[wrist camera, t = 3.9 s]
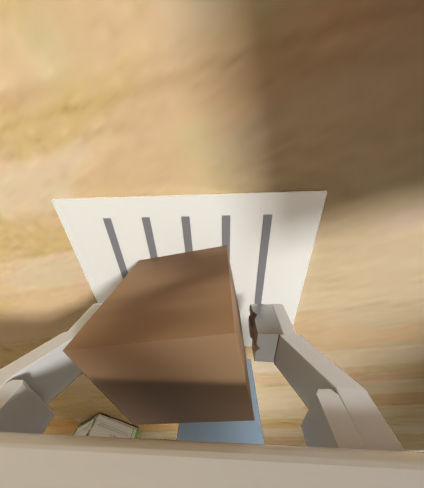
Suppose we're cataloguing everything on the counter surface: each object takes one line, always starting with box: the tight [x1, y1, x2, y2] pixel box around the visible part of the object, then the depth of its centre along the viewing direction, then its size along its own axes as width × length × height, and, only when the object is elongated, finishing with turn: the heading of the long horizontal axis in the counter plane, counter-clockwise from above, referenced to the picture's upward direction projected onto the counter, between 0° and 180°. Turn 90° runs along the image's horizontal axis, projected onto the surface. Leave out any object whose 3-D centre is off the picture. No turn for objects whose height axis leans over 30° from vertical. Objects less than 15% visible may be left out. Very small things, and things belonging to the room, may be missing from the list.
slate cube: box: [177, 359, 264, 444], centre depth 12 cm, size 5×5×5 cm
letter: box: [51, 190, 328, 346], centre depth 10 cm, size 13×11×1 cm
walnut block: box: [63, 245, 255, 425], centre depth 8 cm, size 5×5×5 cm
